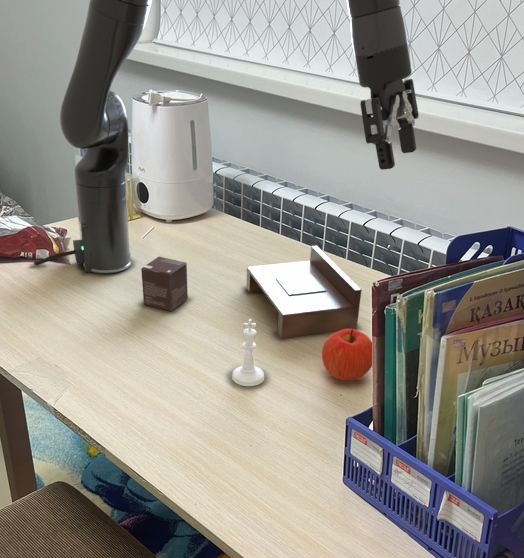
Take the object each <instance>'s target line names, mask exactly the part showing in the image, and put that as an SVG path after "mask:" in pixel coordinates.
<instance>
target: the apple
mask: <svg viewBox="0 0 524 558" xmlns="http://www.w3.org/2000/svg"><path fill="white" fill-rule="evenodd" d="M372 343H373V342H372V339H370V337H369V336H368V335H367V334H366V333H364V332H361V331H360V330H358V329H343V330H340V331H334V332H332V334H330V335H329V336H328V337H327V339H326V340H325V341H324V343H323V345H322V350H321V358H322V363H323V367H324V368H325V370H326V371H327V372H328V374H329V375H331V376H332V377H334V378H336V379H338V380H341V381H354V380H355V381H356V380H359V379H361V378H362V377H364V376H365V375H366V374H367V373H368V372H370V369H371V368H372V367H373V365H372Z"/></svg>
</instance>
